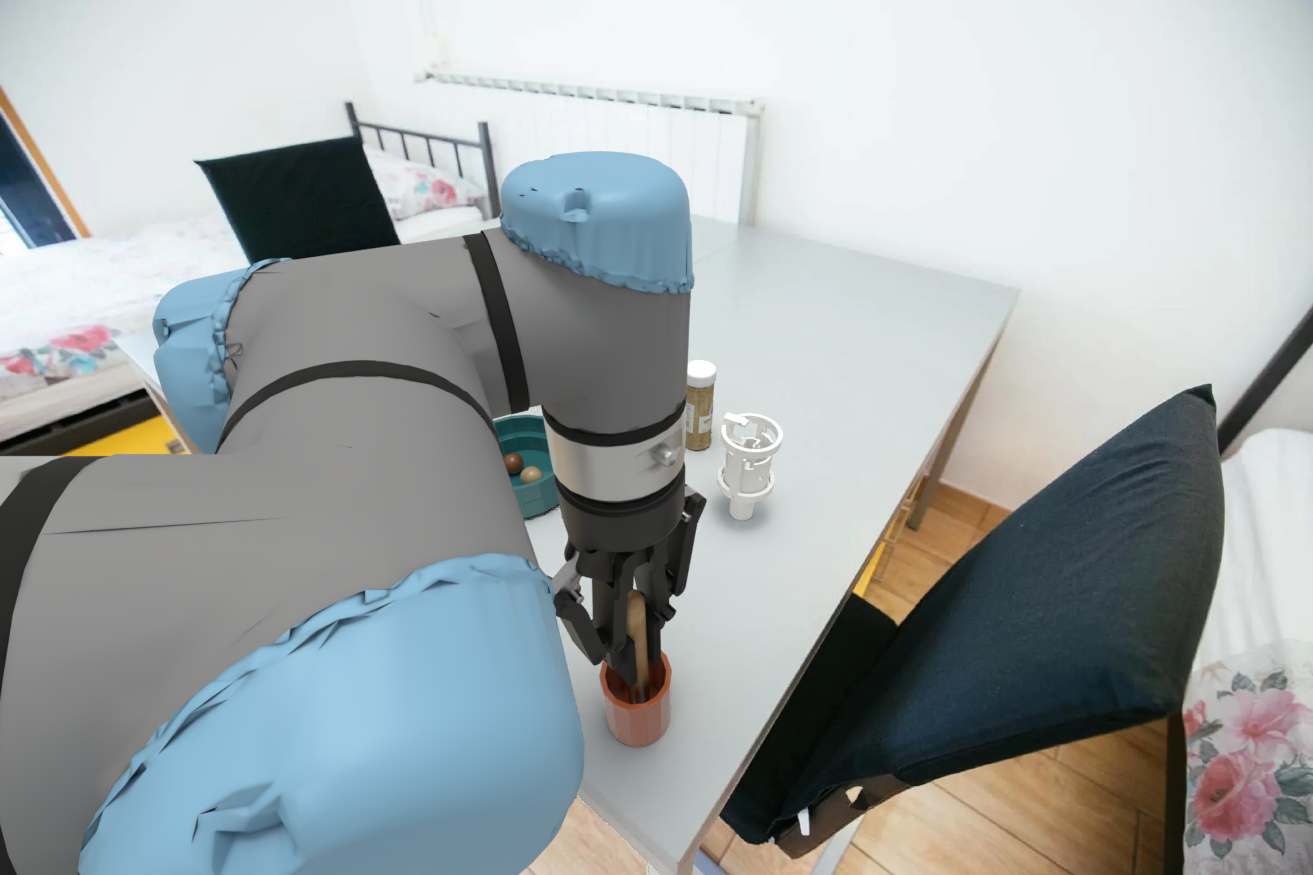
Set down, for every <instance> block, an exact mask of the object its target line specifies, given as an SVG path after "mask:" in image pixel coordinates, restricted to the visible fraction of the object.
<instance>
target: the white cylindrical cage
mask: <svg viewBox="0 0 1313 875" xmlns="http://www.w3.org/2000/svg"><path fill="white" fill-rule="evenodd" d="M750 422H752V424H756V425H757V427H756V433H755V437H752V436H751V437H750V436H738V435H736V434H734V430H735V426H737V427H739V428H742V429H746V428H747V426H748V425H749V424H750ZM768 429H769V430H770V431H771V432H772V433H773V434H774V435H775V437H776V440H775V442H774V440H773V439H772V436H771V435H770V434H767V432H768ZM720 431H721V432H720V441H721V444H722V446H723V448H724V449H726V450H725V458H724V462H723V463H721V465H720V466H719V468H718V470H717V477H716V483H717V484H716V485H717V487H718V489H719V491H720V492H721V493H722V494H723V495H724V496H725V497H727V498H728V499H729V500H730V504H729V514H730V516H731V517H732V518H733V519H735V520H736V521H741V522H742V521H747V520H750V519H751V518H752V517H753V514H754V508H755V503H758V502H761V501H763V500H765V499H767V498H768V497H769V496H770V495H771V494H772V493H773V490H774V486H775V478H776V477H775V474H774V471H773V470H772V469H771V465H772V461H773V455H775V454H776V453H778V451H779V450H780V449H781V446H782V441H783V436H784V433H783V430H782V428H781V426H780V425H779V424H778V423H777V422H776V421H775V420H774V419H772V418H770V417H769V416H766V415H763V414H759V413H751V412H745V413H739V414H735V413H731V412H726V413H725V414H724V416H723V421H722V426H721V429H720Z"/></svg>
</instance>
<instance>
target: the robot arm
mask: <svg viewBox="0 0 1313 875" xmlns="http://www.w3.org/2000/svg"><path fill="white" fill-rule="evenodd" d="M500 201H501V208H502V209H501V211H500V213H499V215H498V216H499V222H500V226H498V227H497V226H496V227H492V228H486V229H481V230H480V232H477V233H470V234H463V235H459V236H452V237H443V238H437V239H430V240H423V241H417V242H409V243H402V244H395V245H389V246H381V247H374V248H367V249H359V250H353V251H346V252H340V253H332V254H325V255H318V256H311V257H305V258H298V259H293V258H291V257H281V258H275V257H274V258H267V259H266V258H265V259H264V260H260V261H258V262H254V263H252V265H249V266H247V267H242V268H238V269H234V270H228V271H225V272H221V273H216V274H211V275H207V276H202V277H197V278H193V279H189V280H186V281H183V282H181V283H179V284H177V285H175V286H174V287H172V288H171V289H169V290H168V291H167V292H166V294H164V296H163V297H162V298H161V299H160V301H159V302H158V304H157V306H156V308H155V311H154V314H153V317H152V322H151V326H152V330H153V335H154V338H155V339H156V342H157V345H158V348H157V349H155V351H154V354H153V357H152V358H153V359H152V360H153V362H154V364H153V365H154V367H155V370H156V375H157V378H158V381H159V384H160V388H161V391H162V393H163V395H164V398H165V400H166V402H167V404H168V406H169V409H170V410H171V413H172V414H173V416H174V418H175V420H176V421H177V423H178V425H179V427H180V428H181V430H182V432H183V433H184V434H185V435H186V436H187V438H188V439H189V440H190V441H191V443H192V444H193V445H194V446H195V448H197V450H198V451H199V452H200V453H189V454H188V453H116V454H115V453H114V454H111V455H0V875H520V874H521V873H522V872H524V871H525V870H526V869H527V868H528V867H529V866H531V865H532V864H533V863H534V862H535V861H536V860H537V859H538V858H539V857H540V855H541V854H543V852H544V851H545V850H546V849H547V847H549V846H550V845H551V843H552V841H553V840H554V839H555V838H556V837H557V835H558V834H559V832H560V831H561V828H562V827H563V824H564V821H565V819H566V816H567V815H568V812H569V809H570V808H571V806H572V805H573V804H574V801H575V800H576V799H577V798H578V797H577V796H578V792H579V790H580V787H581V784H582V781H583V778H584V770H585V738H584V733H583V727H582V726H583V725H582V722H581V717H580V712H579V710H578V709H579V708H578V704H577V700H576V697H575V692H574V689H573V684H572V678H571V675H570V671H569V666H568V661H567V658H566V653H565V649H564V645H563V641H562V636H561V632H560V627H559V624H558V619H557V618H559V619H560V621H561V623H562V625H563V626H564V628H565V630H566V632H567V633H568V636H569V637H570V639H571V641H572V643H573V644H574V645H575V646H576V647H577V649H579V651H580V652H581V653H582V654H583V655H584V656H585V657H586V659H587V660H588V662H590V663H591V664H592V665H593V666H594V667H595V666H599V665H600V664H602V662H603V660H604V661H605V662H606V663H607V664H608V665H609V667H610V668H611V669H612V670H614V671H616V672H617V673H618V674H619V675H620V676H621V677H622V679H623V680H624V681H625V682H626V683H627V684H628V685H629V686H630V688H632V687H633V686H634V685H635V684H636V683H637V682H638V678H637V665H636V652H635V641H634V640H633V639H632V638H631V637H630V636H629V635H628V634H627V633H626V627H627V603H628V593H629V592H631V591H632V590H633V589H634V583H635V586H636V587H635V589H636V590H638V591H640V592H641V593H642V595H643V597H644V600H645V614H646V633H647V651H648V660H649V661H650V662H651V663H652V664H653V665H654V666H656V665H657V664H658V663H659V662H660V661H661V650H662V633H661V632H662V629H664V628H665V625H666V623H668V622H670V621H671V620H673V618H674V617H675V616H676V614H677V609H676V608H675V607H674V606H672V605H671V604H670V599H671V597H672V596H674V597H676V598H678V597H680V596H681V595H682V594H683V593H684V592H685V590H686V588H687V584H688V577H689V571H690V566H691V562H692V561H691V560H692V555H693V550H694V545H695V540H696V534H697V529H698V523H699V521H700V519H701V517H702V515H703V512H704V510H705V508H706V505H707V502H708V500H707V498H706V497H705V496H704V495H703V494H701V493H699V492H698V491H696V490H695V489H694V488H692V487H691V486H689V485H688V484H687V483H686V461H685V455H686V446H685V441H686V402H687V373H688V362H689V346H690V345H689V343H690V319H691V302H692V301H691V298H692V290H693V289H694V286H695V279H696V278H695V273H694V268H693V234H692V233H693V232H692V231H693V230H692V229H693V228H692V226H693V225H692V222H691V209H690V197H689V193H688V188H687V186H686V184H685V182H684V180H683V179H682V178H681V176H680V175H679V174H678V172H676V171H675V170H674V169H673V168H671V167H670V166H668V165H666V164H665V163H663V162H662V161H659V160H658V159H655V158H653V157H650V156H647V155H642V154H637V153H631V152H623V151H611V150H610V151H609V150H589V151H575V152H566V153H557V154H556V153H555V154H553V155H550V156H549V157H548V158H546V159H535V160H530V161H527V162H524V163H521V164H520V165H518V166H516V167H515V168H513V169H512V170H511V171H510V172H509V173H508V174H507V175H506V177H505V178H504V180H503V182H502V184H501V186H500ZM539 406H540V407H541V413H542V416H543V419H544V425H545V430H546V436H547V441H548V447H549V453H550V458H551V463H552V467H553V472H554V473H555V483H556V488H557V494H558V499H559V504H558V505H559V510H560V514H561V518H562V522H563V524H564V527H565V530H566V533H567V541H566V545H565V547H564V551H563V557H564V560H565V563H564V564H563V565H562V567H561V568H560V569H559V570H558V571H557V573H555V575H554V576H553V577H552V576H550V575H547V574H546V573H545V572H544V570H543V569H542V568H541V567H540V564H539V561H538V558H537V556H536V552H535V549H534V547H533V544H532V541H531V538H530V535H529V532H528V529H527V526H526V523H525V518H523V516H522V513H521V510H520V507H519V505H518V502H517V499H516V496H515V493H514V490H513V487H512V484H511V481H510V478H509V475H508V472H507V469H506V466H505V463H504V457H503V452H502V449H501V445H500V442H499V439H498V435H497V432H496V428H495V425H494V422H493V421H494V419H495V420H496V419H500V418H503V417H507V416H511V415H516V414H521V413H525V412H528V411H529V410H530V409H531V408H534V407H539ZM582 577H584V578H588V579H591V602H592V604H591V606H592V608H591V609H592V618H591V616H590V615H589V611H588V610H587V609H586V607H585V606H584V605H583V604H582V603H583V602H584V601H585V596H584V595H583V594H582V593H581V591H582V586H581V584H580V582H581V579H582Z"/></svg>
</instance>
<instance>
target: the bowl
mask: <svg viewBox="0 0 1313 875" xmlns="http://www.w3.org/2000/svg"><path fill="white" fill-rule="evenodd" d="M493 422H494V425H495V428H496V432H497V435H498V439H499V442H500V445H501V449H502V452H503V457H505V456H506V455H507V454H509V453H517V454H519V455H520V456H521V457H522V458H523V461H524V465H523V468H522V470H521V471H520V472H518V473H516V474H509V473H508V475H509V478H510V481H511V484H512V487H513V490H514V493H515V496H516V499H517V502H518V505H519V507H520V510H521V513H522V516H523V519H527V518H531V517H534V516H537V515H540V514H543V513H546V512H547V511H549V510H551V509H552V508H554V507H555V506H557V505H560V504H559V499H558V494H557V488H556V483H555V473H554V472H553V467H552V463H551V458H550V453H549V447H548V441H547V436H546V430H545V425H544V419H543V415H535V414H517V415H516V414H515V415H508V416H504V417H500V418H497V419H495V420H494V419H493ZM529 466H535V467H537V468H539V469H540V471H541V472H542V475H543V478H541V479H539V480H537V481H534V482H531V483H528V484H525V485H523V484H522V482H521V479H520V475H521V472H522V471H523V470H524V469H525V468H526V467H529Z"/></svg>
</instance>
